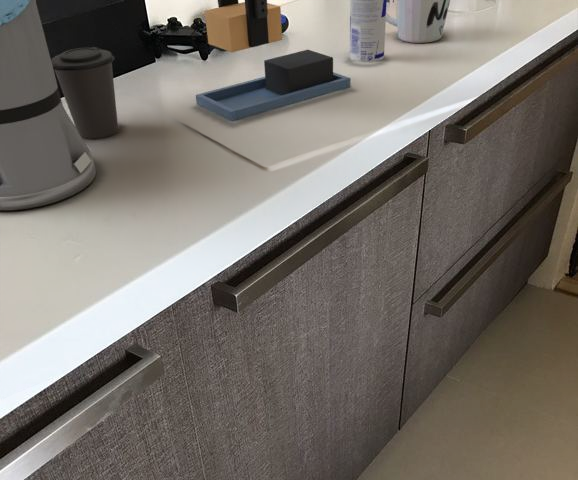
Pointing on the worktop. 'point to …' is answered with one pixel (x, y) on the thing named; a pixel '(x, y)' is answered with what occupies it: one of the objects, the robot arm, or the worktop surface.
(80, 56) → the coffee cup
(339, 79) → the tray
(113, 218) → the worktop surface
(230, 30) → the tan block
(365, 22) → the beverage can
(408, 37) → the mug
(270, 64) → the charcoal pad
